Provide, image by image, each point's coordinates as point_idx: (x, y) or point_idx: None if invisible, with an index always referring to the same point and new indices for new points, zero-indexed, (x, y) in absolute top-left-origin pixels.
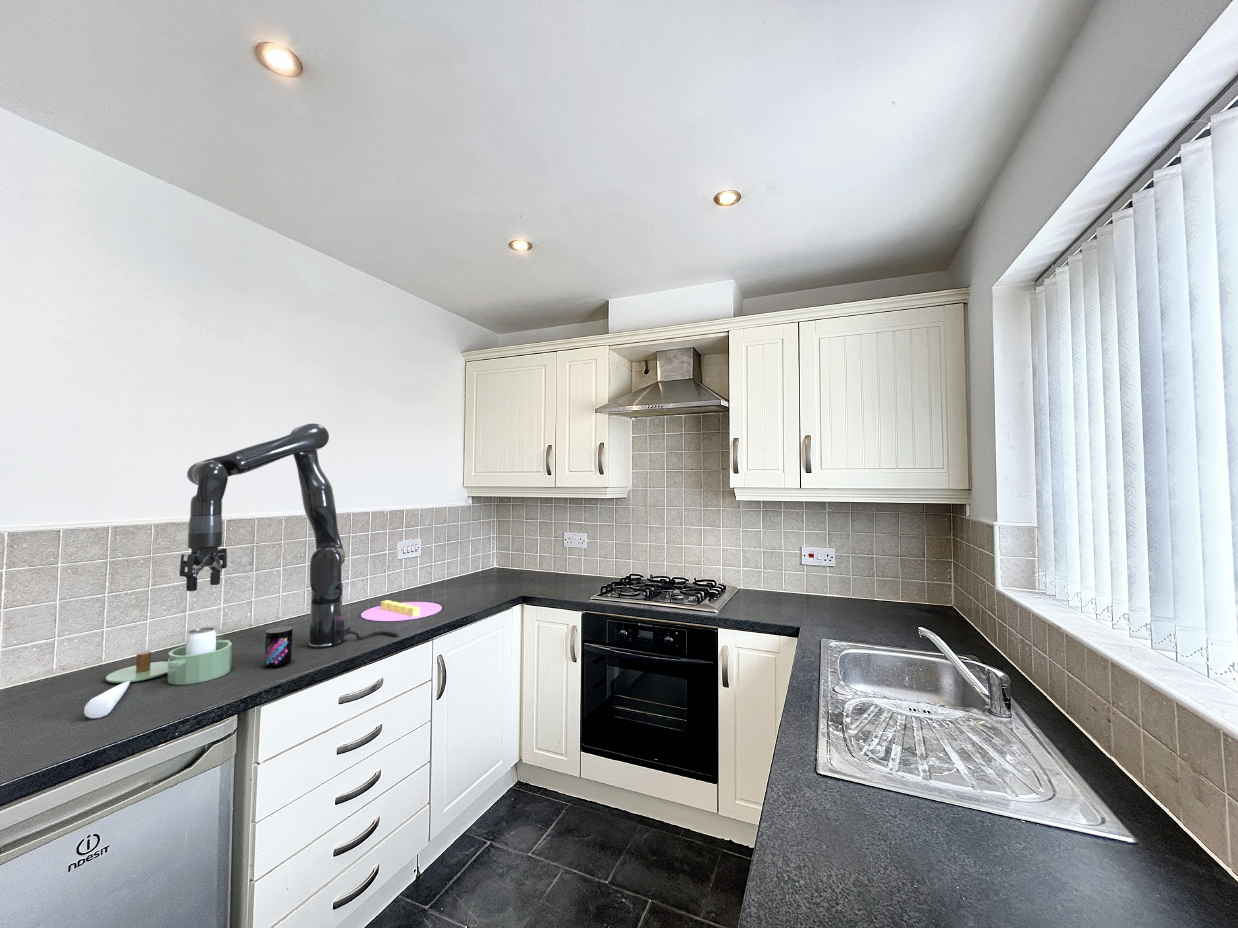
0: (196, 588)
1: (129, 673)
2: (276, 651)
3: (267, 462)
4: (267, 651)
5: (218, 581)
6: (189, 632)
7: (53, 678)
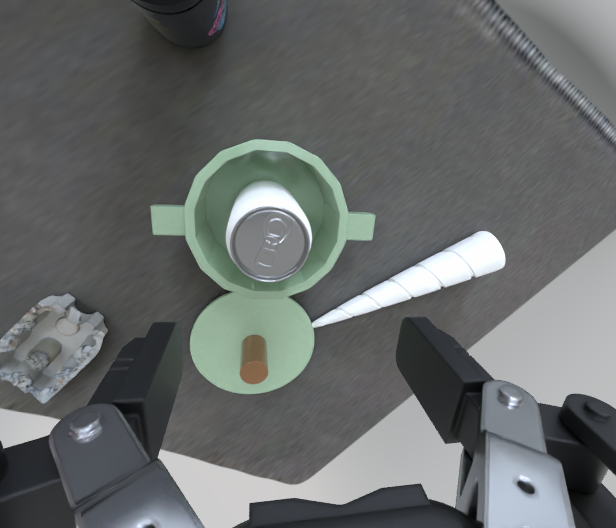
0: (414, 321)
1: (270, 357)
2: None
3: None
4: (218, 7)
5: (168, 331)
6: (298, 268)
7: (262, 468)
